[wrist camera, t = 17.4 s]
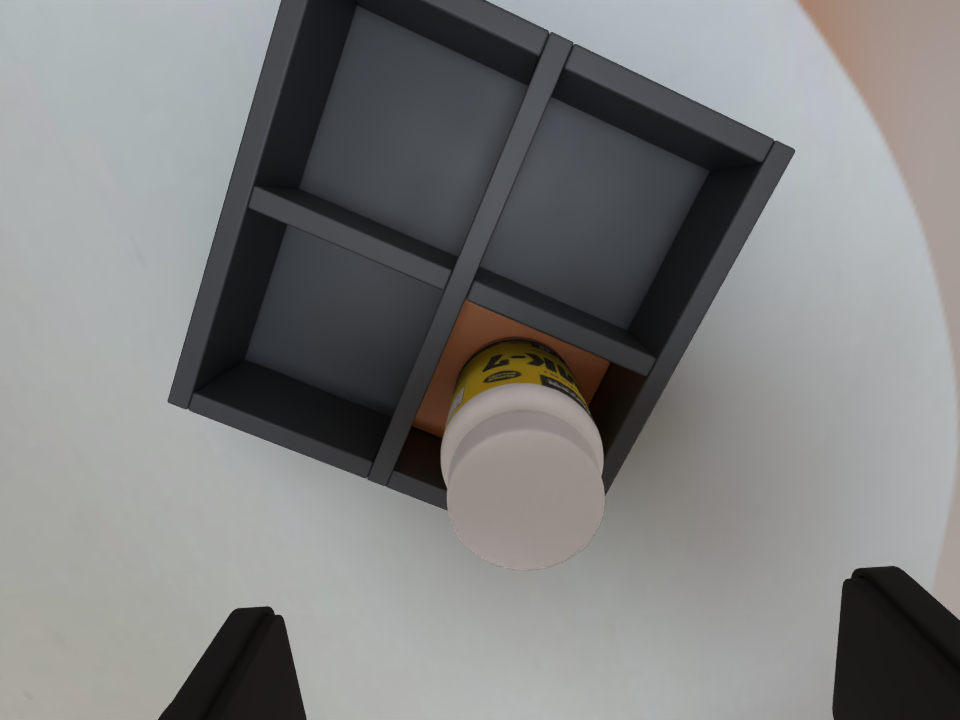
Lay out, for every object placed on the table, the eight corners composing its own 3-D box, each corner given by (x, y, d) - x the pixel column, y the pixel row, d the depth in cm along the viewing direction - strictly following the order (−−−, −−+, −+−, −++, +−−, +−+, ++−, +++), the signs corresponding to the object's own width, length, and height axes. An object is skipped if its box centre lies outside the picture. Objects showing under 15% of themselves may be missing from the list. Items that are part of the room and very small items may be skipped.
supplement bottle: (591, 353, 21) (652, 446, 13) (554, 460, 22) (588, 605, 14) (471, 320, 21) (458, 394, 13) (440, 430, 22) (411, 560, 14)
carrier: (730, 161, 20) (797, 149, 16) (556, 493, 24) (571, 558, 19) (348, -20, 19) (304, -88, 14) (228, 364, 22) (165, 402, 18)
